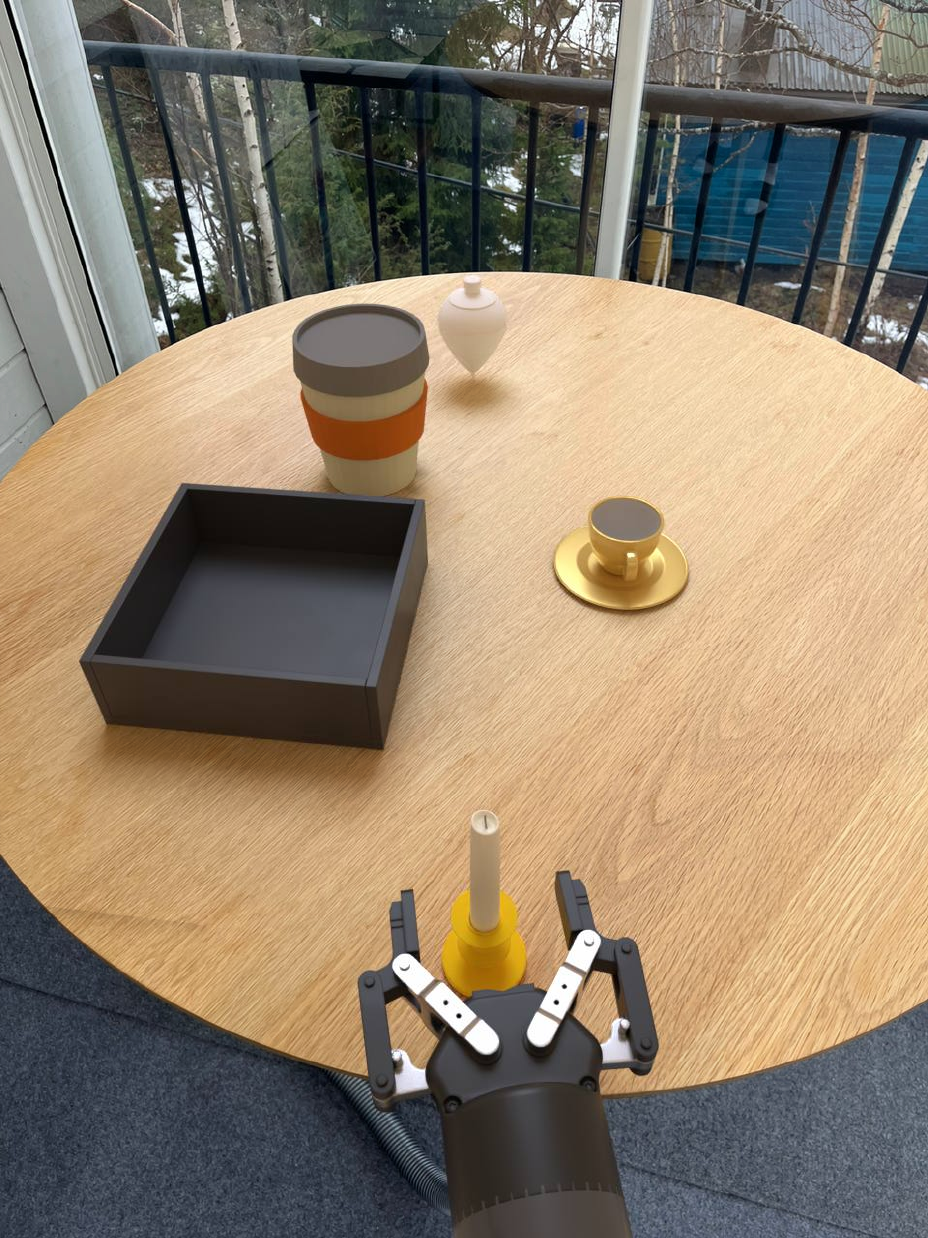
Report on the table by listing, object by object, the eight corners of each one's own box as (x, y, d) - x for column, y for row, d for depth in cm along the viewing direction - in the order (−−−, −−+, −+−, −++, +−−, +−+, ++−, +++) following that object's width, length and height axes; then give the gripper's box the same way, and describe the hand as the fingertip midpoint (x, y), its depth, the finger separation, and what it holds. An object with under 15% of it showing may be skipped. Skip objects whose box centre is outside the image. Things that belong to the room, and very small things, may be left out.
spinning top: (443, 361, 111) (440, 261, 102) (507, 363, 110) (510, 263, 102) (436, 395, 105) (432, 293, 97) (504, 398, 105) (506, 295, 96)
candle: (534, 931, 59) (546, 785, 48) (515, 1011, 56) (523, 872, 45) (455, 911, 60) (449, 763, 49) (431, 988, 57) (419, 846, 46)
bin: (105, 723, 72) (78, 661, 67) (198, 544, 87) (181, 482, 82) (383, 750, 70) (376, 687, 65) (428, 561, 85) (425, 499, 80)
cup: (547, 526, 88) (550, 478, 85) (674, 523, 88) (683, 476, 85) (558, 614, 80) (562, 566, 76) (699, 611, 80) (710, 563, 76)
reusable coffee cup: (306, 512, 90) (283, 371, 80) (313, 439, 99) (293, 304, 89) (436, 505, 91) (431, 365, 80) (431, 434, 100) (425, 299, 89)
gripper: (718, 1175, 38) (618, 833, 50) (366, 1230, 37) (347, 866, 48) (688, 1224, 43) (604, 905, 55) (380, 1274, 42) (360, 936, 54)
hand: (484, 887), depth 52 cm, fingers open, 8 cm apart
